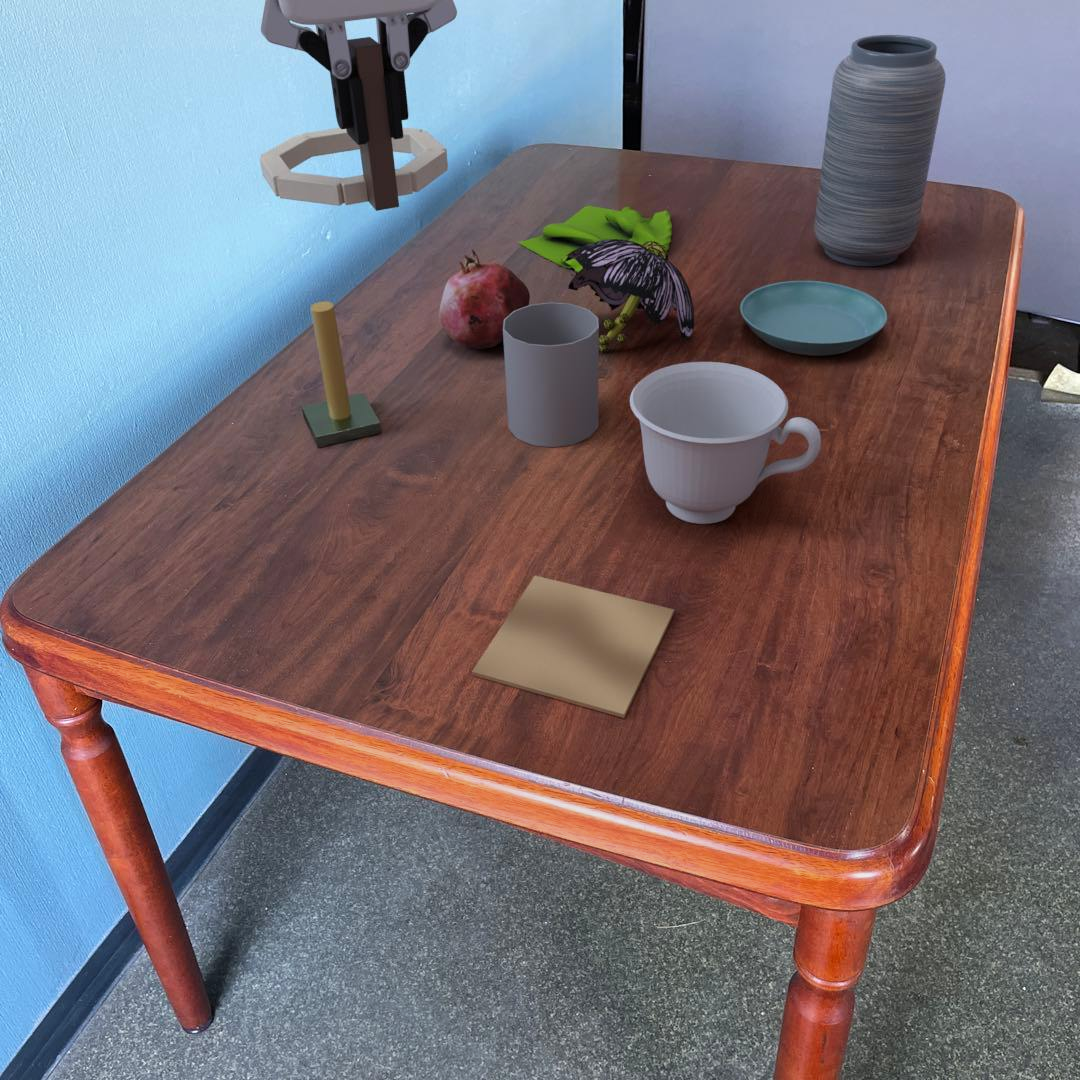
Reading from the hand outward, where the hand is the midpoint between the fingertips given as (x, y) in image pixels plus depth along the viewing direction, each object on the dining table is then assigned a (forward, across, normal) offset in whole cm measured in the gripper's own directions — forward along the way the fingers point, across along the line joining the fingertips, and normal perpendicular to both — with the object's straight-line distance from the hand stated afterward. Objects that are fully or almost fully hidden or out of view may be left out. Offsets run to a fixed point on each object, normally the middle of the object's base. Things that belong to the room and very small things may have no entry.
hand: (374, 134), depth 69 cm
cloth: (+31, -39, -46) cm, 68 cm away
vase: (+31, -64, -29) cm, 77 cm away
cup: (+31, -16, -9) cm, 36 cm away
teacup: (+31, -23, +9) cm, 39 cm away
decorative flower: (+31, -30, -21) cm, 48 cm away
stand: (+31, +2, -18) cm, 36 cm away
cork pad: (+31, -6, +18) cm, 36 cm away
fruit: (+31, -16, -27) cm, 44 cm away
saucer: (+31, -47, -14) cm, 58 cm away
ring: (+5, 0, -7) cm, 8 cm away
